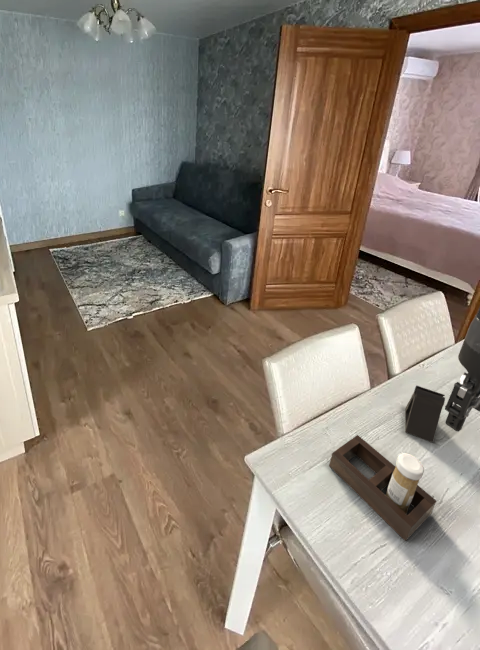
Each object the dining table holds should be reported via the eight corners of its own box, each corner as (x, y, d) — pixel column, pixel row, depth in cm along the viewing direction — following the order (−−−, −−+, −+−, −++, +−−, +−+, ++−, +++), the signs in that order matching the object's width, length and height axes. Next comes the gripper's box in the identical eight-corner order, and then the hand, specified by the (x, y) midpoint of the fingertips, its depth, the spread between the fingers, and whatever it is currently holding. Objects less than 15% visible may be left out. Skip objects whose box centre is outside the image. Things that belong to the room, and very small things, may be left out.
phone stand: (405, 409, 98) (416, 376, 94) (430, 418, 95) (443, 385, 91) (405, 432, 91) (417, 398, 87) (432, 443, 88) (446, 408, 84)
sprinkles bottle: (412, 516, 73) (430, 473, 67) (391, 517, 72) (407, 474, 67) (398, 493, 77) (414, 451, 72) (378, 494, 77) (393, 452, 72)
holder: (353, 447, 87) (357, 434, 85) (430, 514, 73) (436, 500, 71) (328, 465, 83) (332, 452, 81) (405, 541, 68) (411, 527, 67)
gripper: (504, 375, 51) (469, 451, 57) (540, 344, 57) (506, 415, 64) (447, 347, 57) (421, 418, 63) (485, 321, 63) (459, 388, 70)
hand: (463, 417), depth 63 cm, fingers open, 8 cm apart
